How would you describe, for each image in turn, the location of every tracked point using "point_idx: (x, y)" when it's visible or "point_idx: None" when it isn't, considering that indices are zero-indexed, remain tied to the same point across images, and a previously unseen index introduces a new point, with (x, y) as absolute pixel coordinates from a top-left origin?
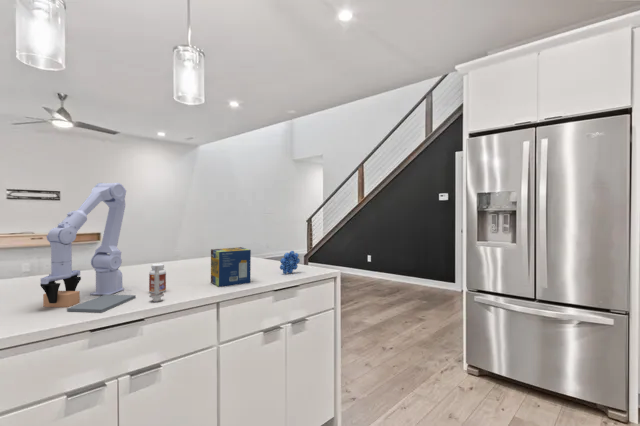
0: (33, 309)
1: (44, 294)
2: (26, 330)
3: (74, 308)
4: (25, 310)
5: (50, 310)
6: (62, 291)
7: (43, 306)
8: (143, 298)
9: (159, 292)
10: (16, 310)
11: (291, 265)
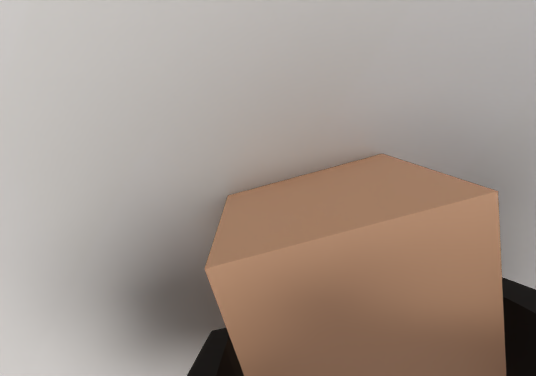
0: (122, 208)
1: (213, 286)
2: None
3: None
4: (62, 169)
5: (175, 369)
6: (458, 366)
7: (228, 196)
8: None
9: None
10: (7, 71)
11: None
